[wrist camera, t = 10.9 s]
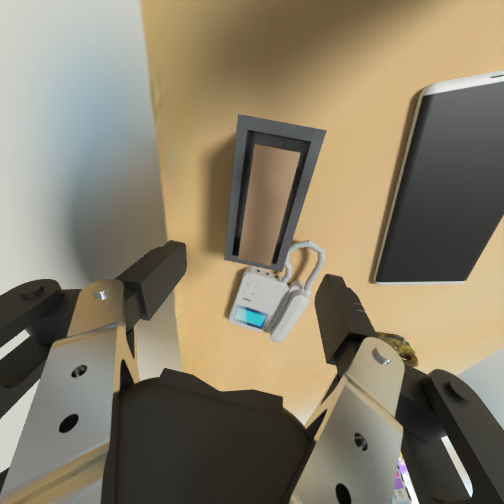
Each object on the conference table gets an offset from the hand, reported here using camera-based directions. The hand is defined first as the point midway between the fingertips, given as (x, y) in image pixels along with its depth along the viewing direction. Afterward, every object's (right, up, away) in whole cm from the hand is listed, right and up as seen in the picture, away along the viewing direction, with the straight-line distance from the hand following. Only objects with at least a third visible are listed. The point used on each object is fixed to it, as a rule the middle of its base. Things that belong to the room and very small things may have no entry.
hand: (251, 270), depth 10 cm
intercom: (+5, -5, +26) cm, 27 cm away
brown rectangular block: (+2, +7, +12) cm, 15 cm away
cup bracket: (+3, +10, +17) cm, 20 cm away
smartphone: (+27, +8, +15) cm, 32 cm away
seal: (+28, -20, +31) cm, 46 cm away
